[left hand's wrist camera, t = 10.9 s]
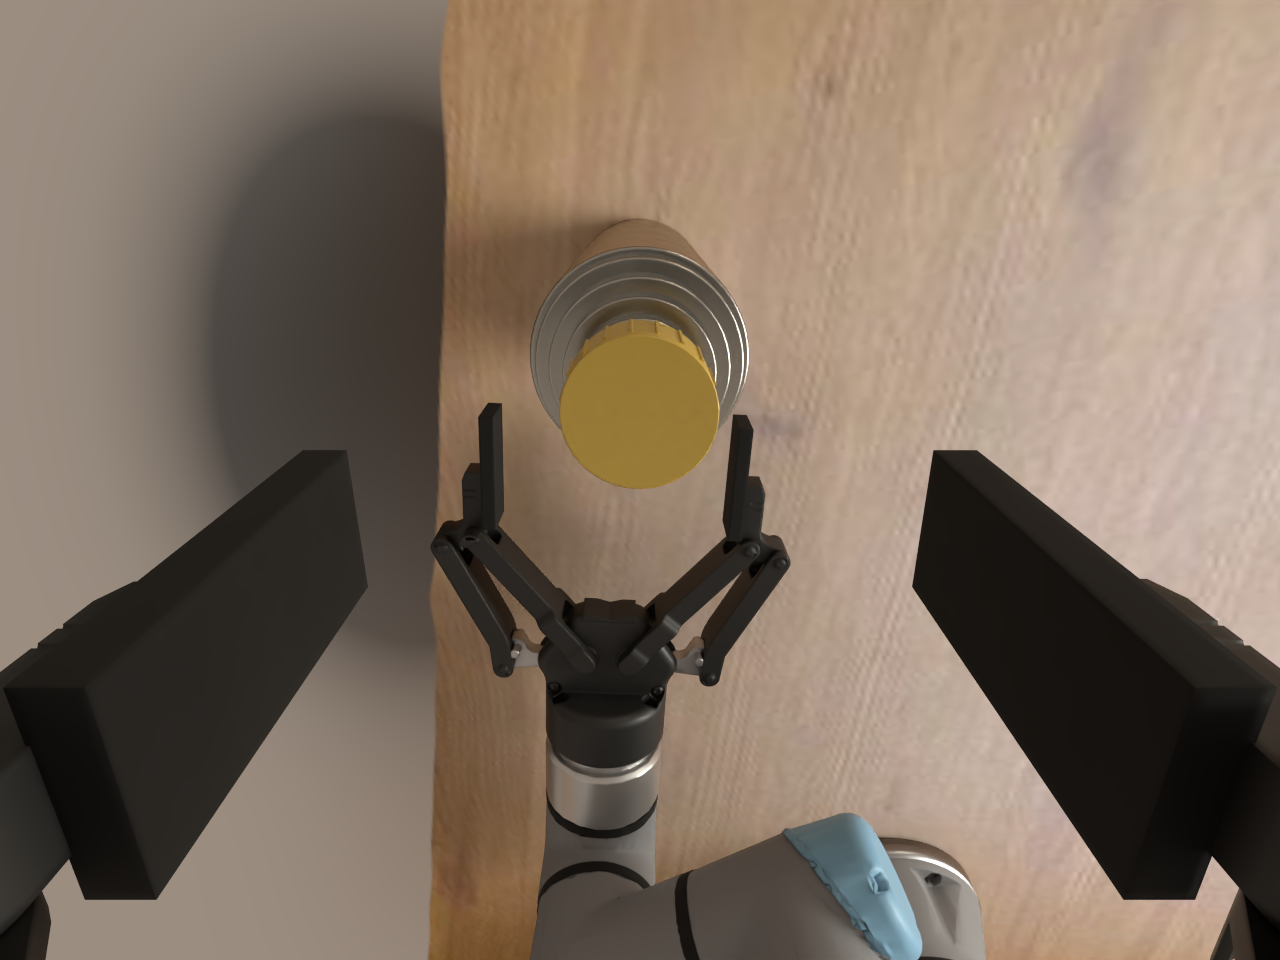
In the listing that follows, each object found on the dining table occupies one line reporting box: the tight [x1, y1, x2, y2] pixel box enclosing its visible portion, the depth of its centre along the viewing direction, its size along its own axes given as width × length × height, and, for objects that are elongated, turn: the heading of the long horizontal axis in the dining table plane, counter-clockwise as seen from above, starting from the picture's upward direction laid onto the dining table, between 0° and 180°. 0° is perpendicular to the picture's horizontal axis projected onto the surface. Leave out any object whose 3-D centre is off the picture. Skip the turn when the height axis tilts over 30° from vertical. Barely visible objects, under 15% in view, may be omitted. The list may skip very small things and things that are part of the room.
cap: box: [559, 319, 720, 489], centre depth 20 cm, size 4×4×2 cm
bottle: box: [530, 219, 749, 431], centre depth 32 cm, size 8×8×26 cm
